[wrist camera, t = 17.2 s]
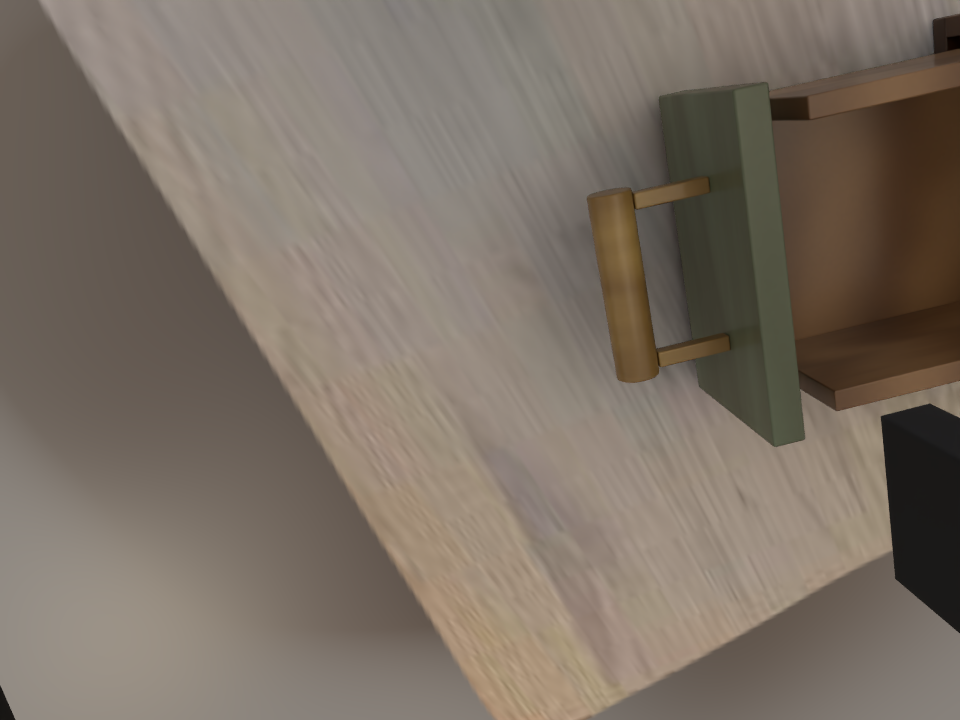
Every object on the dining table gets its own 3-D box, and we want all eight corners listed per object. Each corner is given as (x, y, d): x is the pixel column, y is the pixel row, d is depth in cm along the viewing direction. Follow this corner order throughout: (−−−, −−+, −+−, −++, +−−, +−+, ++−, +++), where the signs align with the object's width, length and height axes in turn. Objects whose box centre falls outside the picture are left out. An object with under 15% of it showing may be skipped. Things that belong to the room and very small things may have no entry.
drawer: (601, 411, 37) (655, 477, 30) (549, 120, 33) (597, 118, 26) (1008, 312, 38) (1151, 354, 31) (999, 21, 35) (1159, -6, 28)
